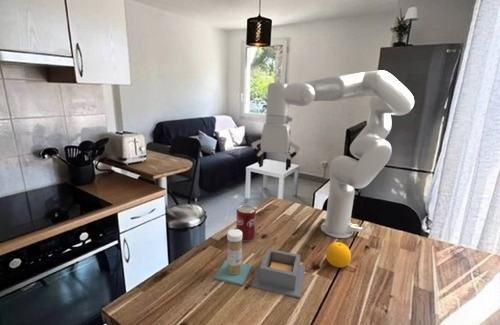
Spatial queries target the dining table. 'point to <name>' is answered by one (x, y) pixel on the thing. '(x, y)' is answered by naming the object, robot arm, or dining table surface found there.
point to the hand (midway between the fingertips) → (274, 167)
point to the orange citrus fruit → (338, 254)
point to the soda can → (246, 222)
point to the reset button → (281, 266)
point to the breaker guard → (280, 274)
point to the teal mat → (235, 279)
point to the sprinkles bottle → (234, 251)
